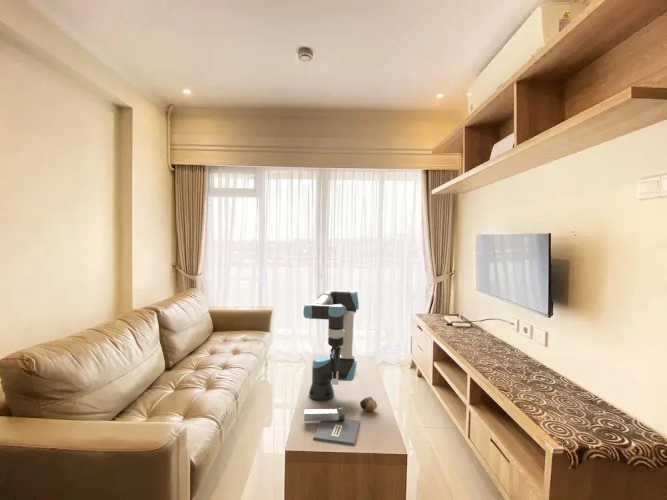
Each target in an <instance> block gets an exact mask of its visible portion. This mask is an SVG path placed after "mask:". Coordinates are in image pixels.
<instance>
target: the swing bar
mask: <svg viewBox="0 0 667 500" xmlns="http://www.w3.org/2000/svg"><path fill="white" fill-rule="evenodd" d="M345 411H346V408H345V406H342V405H339V406H337V407H336V408H327V409H326V408H325V409H324V408H318V409H317V408H316V409H315V408H314V409H312V408H311V409H304V413H303V420H304V422H319V421H344V419H346V418H345V413H346V412H345Z"/></svg>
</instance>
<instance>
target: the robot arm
mask: <svg viewBox="0 0 667 500" xmlns="http://www.w3.org/2000/svg"><path fill="white" fill-rule="evenodd" d="M358 296H359V295H358V292H357V291H355V290H351V289H350V290H348V289H347V290H346V289H345V290H344V289H340V290H339V289H331V290H327V291H324V292H322V293H320V294H319V296H318V297H317V299H316V300H315V301H314V302H313V303H306V304H305V305H304V307H303V317H304V318H305V319H309V320H328V328H327V329H328V332H327V335H328V338H327V344H328V345H329V346H331V349H330V354H329V355H330V356H328V355H319V356H317V357H314V359H313V360H312V366H311V373H312V374H311V385H310V388H309V390H308V397H309V398H310V399H312V400H314V401H317V402H323V401H324V402H325V401H331V400H332V399H333V398H334V396H335V390H334V387H333V385H335V386H338V385H339V381H341V382H342V381H344V382H352V381H354V379H355V376H356V371H357V365H358V364H357V363H358V362H357V361H356V360H355V357H354V356H353V346H354V345H353V343H354V342H353V340H354V315H356V313H357V310H359V309H360V308H359V307H360V305H359V304H360V303H359V297H358Z"/></svg>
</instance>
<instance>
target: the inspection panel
mask: <svg viewBox="0 0 667 500" xmlns="http://www.w3.org/2000/svg"><path fill="white" fill-rule="evenodd" d="M360 425H361V420H356V419H351V418H345V419H344V421H320V422H319V424H318V425H317V428H316V431H315V432H314V435H313V437H312V440H315V441H321V442H322V441H323V442H328V443H336V444H342V445H351V446H355V445H356V442H357V436H358V433H359V428H360Z"/></svg>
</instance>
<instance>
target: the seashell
mask: <svg viewBox="0 0 667 500" xmlns="http://www.w3.org/2000/svg"><path fill="white" fill-rule="evenodd" d="M359 404H360V408H361V409H362V410H364V411H366V412H373V411H375V410H376V409H377V407H378V404H377V401H376V400H374V398H373V397H372V396H367V397H364V398H363V399H362V400H360V402H359Z"/></svg>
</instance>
